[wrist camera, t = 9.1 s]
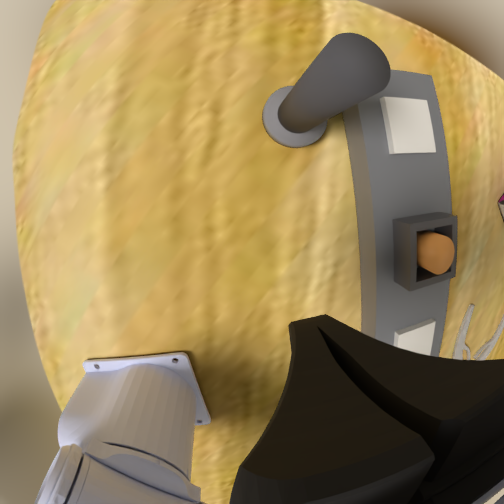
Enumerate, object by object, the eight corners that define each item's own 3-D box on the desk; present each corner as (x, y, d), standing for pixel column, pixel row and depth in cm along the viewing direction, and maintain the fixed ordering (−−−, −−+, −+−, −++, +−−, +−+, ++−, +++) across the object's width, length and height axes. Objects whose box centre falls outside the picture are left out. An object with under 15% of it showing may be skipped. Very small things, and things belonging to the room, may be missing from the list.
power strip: (359, 376, 22) (380, 409, 18) (334, 78, 16) (362, 55, 12) (422, 353, 23) (447, 379, 18) (413, 83, 17) (448, 69, 12)
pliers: (516, 307, 22) (469, 407, 26) (508, 302, 24) (463, 401, 27) (476, 308, 21) (421, 423, 24) (466, 302, 22) (415, 415, 26)
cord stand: (267, 151, 17) (314, 119, 8) (257, 93, 16) (289, 12, 7) (327, 144, 18) (419, 118, 8) (316, 88, 17) (392, 22, 7)
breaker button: (406, 267, 17) (427, 278, 15) (406, 231, 17) (428, 239, 14) (432, 260, 17) (453, 270, 15) (432, 226, 17) (454, 233, 14)
